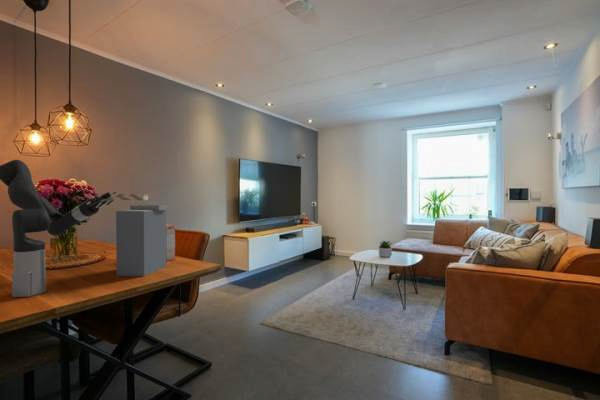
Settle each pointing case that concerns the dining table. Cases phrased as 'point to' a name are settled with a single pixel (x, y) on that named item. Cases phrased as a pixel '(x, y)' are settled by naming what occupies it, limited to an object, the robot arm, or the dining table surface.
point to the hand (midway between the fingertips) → (113, 193)
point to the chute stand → (141, 240)
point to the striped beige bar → (127, 197)
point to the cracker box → (170, 242)
